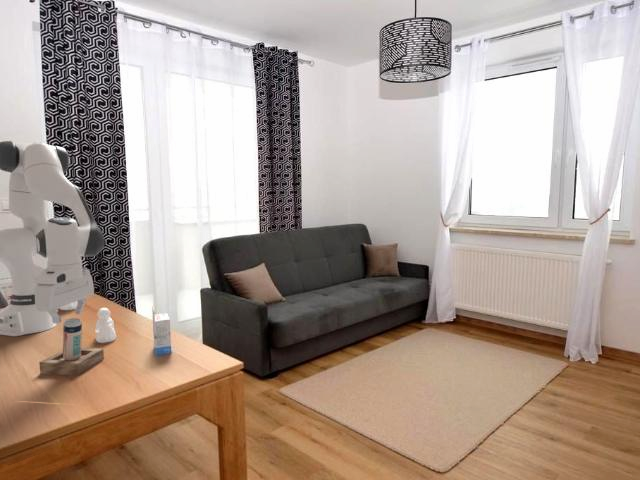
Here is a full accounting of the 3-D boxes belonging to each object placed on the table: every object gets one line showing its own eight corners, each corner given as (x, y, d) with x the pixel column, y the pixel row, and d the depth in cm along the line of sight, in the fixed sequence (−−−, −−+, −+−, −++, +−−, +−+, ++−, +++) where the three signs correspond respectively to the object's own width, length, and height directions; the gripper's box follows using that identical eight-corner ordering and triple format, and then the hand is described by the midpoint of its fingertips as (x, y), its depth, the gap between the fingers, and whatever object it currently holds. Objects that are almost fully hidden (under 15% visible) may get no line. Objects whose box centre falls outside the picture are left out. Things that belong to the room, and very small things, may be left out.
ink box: (172, 354, 139) (170, 310, 137) (156, 356, 137) (153, 312, 135) (169, 345, 147) (167, 304, 145) (153, 348, 145) (151, 306, 143)
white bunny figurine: (97, 347, 146) (95, 312, 145) (94, 340, 153) (92, 307, 152) (117, 343, 150) (115, 309, 148) (114, 336, 157) (111, 304, 156)
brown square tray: (40, 376, 125) (39, 362, 124) (69, 360, 136) (68, 347, 136) (78, 377, 123) (77, 363, 123) (104, 361, 135) (103, 348, 134)
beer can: (67, 353, 131) (68, 317, 129) (83, 354, 132) (84, 318, 130) (59, 361, 127) (60, 323, 125) (76, 362, 127) (77, 324, 125)
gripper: (79, 266, 137) (82, 307, 139) (28, 279, 117) (32, 328, 118) (97, 266, 136) (100, 308, 138) (49, 280, 116) (53, 329, 118)
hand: (68, 317), depth 128 cm, fingers open, 8 cm apart
